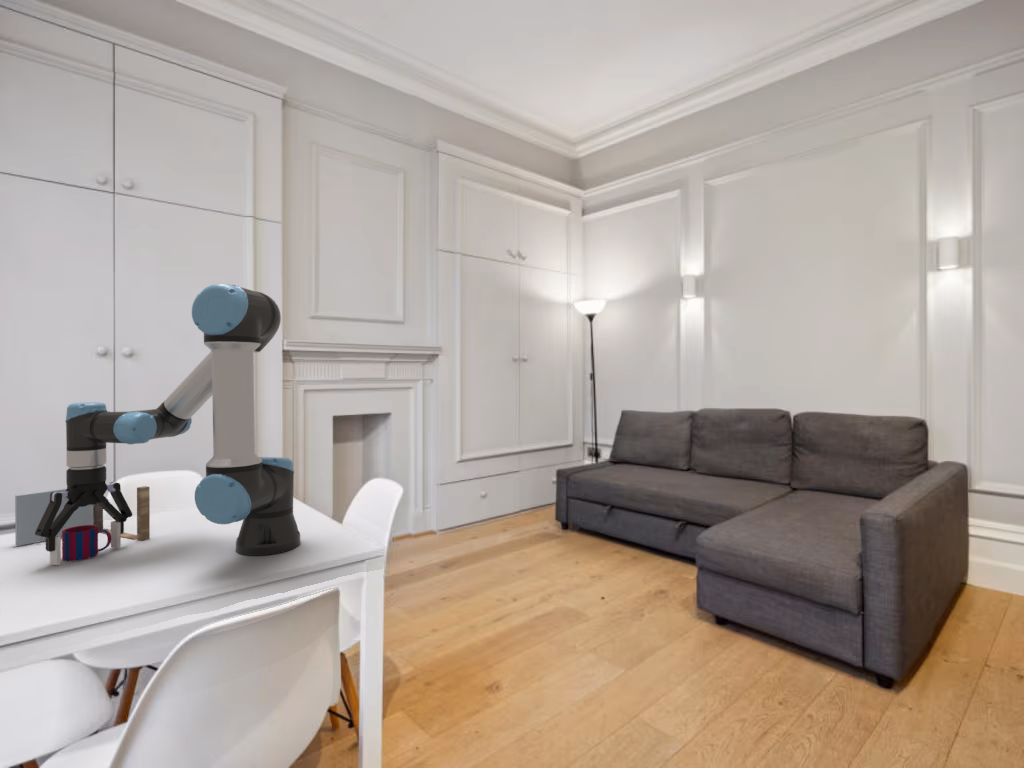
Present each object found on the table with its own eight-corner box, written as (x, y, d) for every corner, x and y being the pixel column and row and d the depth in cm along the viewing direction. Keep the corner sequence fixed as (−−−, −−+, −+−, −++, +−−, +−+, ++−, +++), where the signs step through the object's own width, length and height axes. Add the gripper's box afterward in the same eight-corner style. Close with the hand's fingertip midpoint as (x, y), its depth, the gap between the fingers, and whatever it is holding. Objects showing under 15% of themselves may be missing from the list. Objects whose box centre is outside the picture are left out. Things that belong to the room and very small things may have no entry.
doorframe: (150, 538, 142) (150, 482, 142) (141, 541, 140) (140, 484, 140) (91, 526, 153) (91, 474, 153) (82, 528, 151) (81, 476, 151)
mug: (77, 552, 132) (77, 524, 132) (118, 552, 132) (118, 524, 132) (54, 561, 125) (54, 532, 125) (97, 561, 125) (97, 532, 125)
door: (89, 529, 149) (89, 484, 149) (93, 530, 148) (93, 485, 148) (13, 543, 136) (13, 494, 136) (17, 545, 135) (16, 496, 135)
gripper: (130, 458, 141) (130, 539, 141) (14, 473, 118) (15, 569, 119) (148, 460, 138) (148, 543, 138) (33, 476, 115) (33, 575, 116)
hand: (86, 555), depth 128 cm, fingers open, 12 cm apart
